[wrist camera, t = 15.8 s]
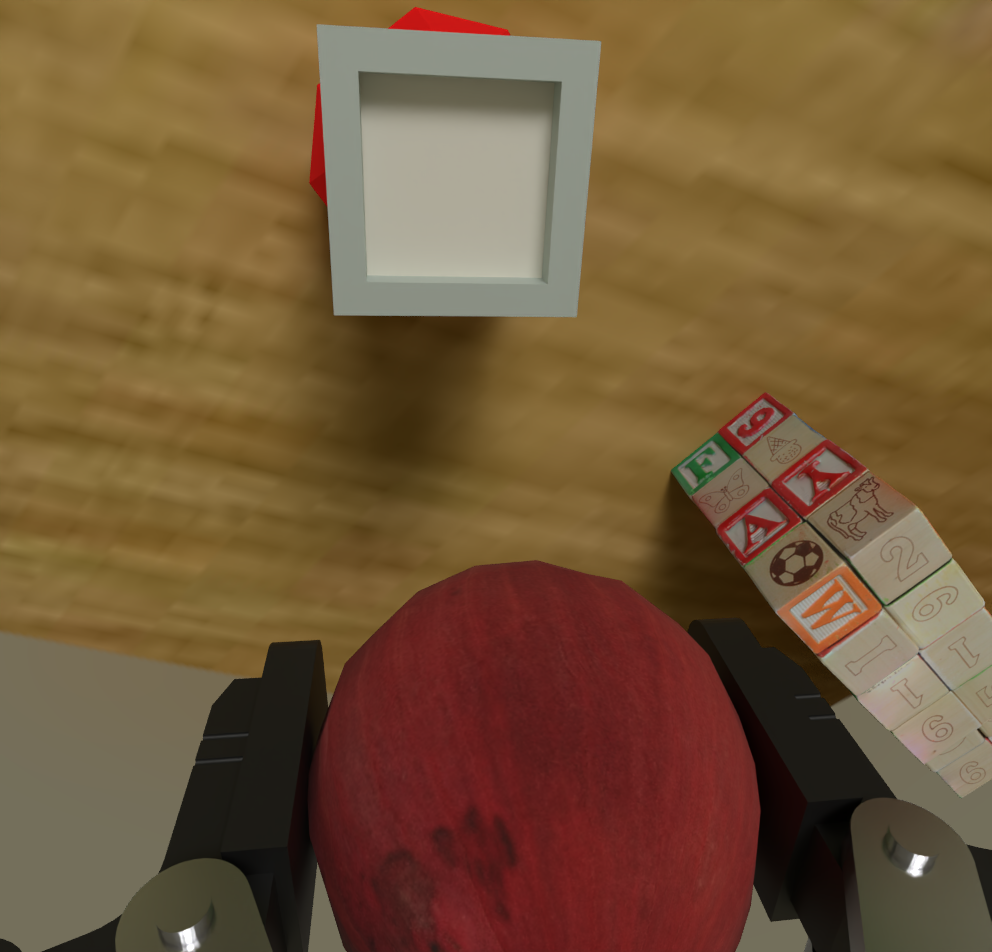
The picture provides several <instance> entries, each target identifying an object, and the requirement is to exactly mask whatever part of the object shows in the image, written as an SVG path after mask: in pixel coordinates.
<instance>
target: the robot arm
mask: <svg viewBox="0 0 992 952" xmlns="http://www.w3.org/2000/svg"><path fill="white" fill-rule="evenodd" d="M688 634H689V635H690V636H691V637H692V638H693V639H694V640H695V641H696V642H697V643H698V644H699V645H700V646H701V647H702V648H703V649H704V651H705V652H706V653H707V654H708V655H709V657H710V659H711V661H712V663H713V665H714V667H715V669H716V671H717V673H718V675H719V677H720V679H721V681H722V683H723V685H724V687H725V689H726V691H727V693H728V696H729V698H730V700H731V702H732V704H733V706H734V708H735V710H736V712H737V714H738V716H739V718H740V721H741V724H742V727H743V730H744V733H745V736H746V739H747V742H748V745H749V748H750V751H751V754H752V757H753V760H754V763H755V769H756V777H757V786H758V794H759V802H760V810H761V811H760V822H759V832H758V843H757V854H756V864H755V873H754V882H753V884H754V886H755V889H756V891H757V893H758V895H759V897H760V900H761V902H762V904H763V906H764V908H765V910H766V913H767V915H768V917H769V919H770V921H771V922H772V921H781V920H790V919H800V921H801V923H802V925H803V927H804V929H805V931H806V933H807V935H808V937H809V938H808V941H807V944H806V947H805V950H804V952H992V850H988V849H983V848H978V847H974V846H970V845H966V844H965V842H964V841H963V840H962V838H961V837H960V836H959V835H958V834H957V833H956V832H955V831H954V830H953V829H952V828H951V827H950V826H949V825H948V824H946V823H945V822H944V821H943V820H942V819H940V818H939V817H937V816H936V815H934V814H933V813H931V812H929V811H928V810H926V809H924V808H922V807H920V806H917V805H915V804H913V803H909V802H906V801H903V800H899V799H897V798H896V797H895V796H894V794H893V793H892V791H891V790H890V788H889V787H888V786H887V784H886V783H885V782H884V780H883V779H882V778H881V776H880V775H879V773H878V772H877V771H876V769H875V768H874V767H873V765H872V764H871V762H870V761H869V759H868V758H867V757H866V755H865V754H864V753H863V751H862V750H861V749H860V747H859V746H858V744H857V743H856V742H855V740H854V739H853V737H852V736H851V735H850V733H849V732H848V731H847V729H846V728H845V727H844V725H843V724H842V723H841V721H840V720H839V719H836V717H835V713H834V711H833V710H832V709H831V707H830V706H829V704H828V703H827V702H826V700H825V699H824V698H821V696H820V692H819V691H818V689H817V688H816V686H815V685H814V684H813V682H812V681H811V680H810V678H809V677H808V675H807V674H806V673H805V671H804V670H803V668H801V667H800V666H799V665H797V664H796V663H795V662H793V661H792V660H791V659H789V658H788V657H787V656H785V655H784V654H783V653H781V652H780V651H779V650H777V649H776V648H775V647H770V648H762V647H761V646H760V644H759V643H758V641H757V640H756V638H755V637H754V636H753V634H752V633H751V631H750V630H749V628H748V627H747V625H746V624H745V623H744V621H743V620H741V619H740V618H723V619H705V620H694V621H692V622H691V624H690V626H689V629H688ZM327 710H328V702H327V692H326V682H325V672H324V662H323V652H322V645H321V642H320V640H311V641H293V642H275V643H271V644H270V646H269V649H268V653H267V658H266V662H265V666H264V670H263V674H262V678H247V679H234V680H233V681H232V683H231V684H230V685H229V686H228V687H227V689H226V690H225V691H224V692H223V693H222V694H221V696H220V697H219V698H218V699H217V700H216V701H215V703H214V704H213V705H212V708H211V711H210V714H209V717H208V720H207V724H206V727H205V730H204V734H203V741H201V743H200V746H199V749H198V753H197V756H196V759H195V760H196V763H195V766H193V769H192V772H191V775H190V779H189V782H188V785H187V788H186V791H185V795H184V798H183V801H182V805H181V808H180V811H179V814H178V817H177V820H176V824H175V827H174V830H173V833H172V837H171V840H170V843H169V847H168V850H167V853H166V856H165V859H164V862H163V865H162V867H161V870H160V871H159V873H158V875H156V876H155V877H153V878H152V879H151V880H149V881H148V882H147V883H146V884H145V885H144V886H143V887H142V888H141V889H140V890H139V891H138V892H137V893H136V894H135V895H134V896H133V898H132V899H131V901H130V902H129V903H128V905H127V906H126V908H125V910H124V912H123V914H121V915H120V916H119V917H117V918H116V919H115V920H113V921H111V922H110V923H108V924H106V925H105V926H103V927H101V928H99V929H97V930H95V931H92V932H90V933H88V934H85V935H83V936H80V937H78V938H75V939H73V940H70V941H68V942H65V943H62V944H60V945H58V946H55V947H52V948H50V949H47V950H45V951H42V952H308V945H309V935H310V926H311V916H312V907H313V898H314V897H313V896H314V888H315V878H316V869H317V859H316V855H315V852H314V849H313V846H312V843H311V839H310V836H309V819H308V802H307V797H308V778H309V770H310V766H311V762H312V757H313V754H314V750H315V747H316V743H317V740H318V736H319V733H320V729H321V726H322V723H323V721H324V718H325V715H326V713H327ZM0 952H21V950H20V949H19V948H18V947H17V946H16V945H14V944H13V943H11V942H9V941H6V940H4V939H0Z"/></svg>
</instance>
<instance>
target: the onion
mask: <svg viewBox="0 0 992 952" xmlns="http://www.w3.org/2000/svg"><path fill="white" fill-rule="evenodd" d="M307 802H308V819H309V836H310V839H311V843H312V846H313V849H314V852H315V855H316V859H317V862H318V865H319V868H320V872H321V875H322V878H323V881H324V884H325V888H326V891H327V894H328V898H329V901H330V904H331V907H332V911H333V914H334V917H335V921H336V924H337V927H338V930H339V934H340V937H341V940H342V943H343V946H344V948H345V950H346V951H347V952H735V951H736V948H737V946H738V944H739V942H740V939H741V936H742V933H743V930H744V926H745V923H746V920H747V916H748V913H749V910H750V906H751V899H752V890H753V882H754V873H755V864H756V854H757V843H758V832H759V822H760V811H761V810H760V802H759V794H758V786H757V777H756V769H755V763H754V760H753V757H752V754H751V751H750V748H749V745H748V742H747V739H746V736H745V733H744V730H743V727H742V724H741V721H740V718H739V716H738V714H737V712H736V710H735V708H734V706H733V704H732V702H731V700H730V698H729V696H728V693H727V691H726V689H725V687H724V685H723V683H722V681H721V679H720V677H719V675H718V673H717V671H716V669H715V667H714V665H713V663H712V661H711V659H710V657H709V655H708V654H707V653H706V652H705V651H704V649H703V648H702V647H701V646H700V645H699V644H698V643H697V642H696V641H695V640H694V639H693V638H692V637H691V636H690V635H689V634H688V633H687V632H686V631H685V630H684V629H683V628H682V627H681V626H680V625H679V623H677V622H676V621H675V620H673V619H672V618H671V617H669V616H668V615H666V614H665V613H664V612H662V611H661V610H660V609H658V608H657V607H656V606H654V605H653V604H652V603H650V602H649V601H648V600H646V599H645V598H644V597H642V596H641V595H640V594H638V593H637V592H636V591H634V590H633V589H632V588H630V587H629V586H628V585H626V584H625V583H624V582H622V581H620V580H615V579H610V578H605V577H600V576H594V575H589V574H585V573H582V572H578V571H574V570H570V569H567V568H563V567H559V566H556V565H552V564H548V563H545V562H541V561H537V560H534V561H523V562H512V563H501V564H490V565H479V566H474V567H471V568H469V569H467V570H465V571H463V572H460V573H458V574H456V575H454V576H451V577H449V578H447V579H445V580H442V581H440V582H438V583H436V584H434V585H431V586H429V587H427V588H425V589H422V590H420V591H418V592H417V593H416V594H415V595H414V596H413V597H412V598H411V599H410V600H409V601H407V602H406V603H405V604H404V605H403V606H402V607H401V608H400V609H399V610H398V611H397V612H396V613H395V614H394V615H393V616H392V617H391V618H390V619H389V620H388V621H387V622H386V623H384V624H383V625H382V626H381V627H380V628H379V629H378V630H377V631H376V632H375V633H374V634H373V635H372V636H371V637H370V638H369V639H368V640H367V641H366V642H365V643H364V644H363V645H362V647H361V648H360V649H359V650H358V651H357V652H356V653H355V654H354V655H353V656H352V657H351V658H350V659H349V660H348V661H347V662H346V663H345V665H344V668H343V670H342V673H341V676H340V678H339V681H338V684H337V686H336V689H335V692H334V694H333V697H332V700H331V702H330V705H329V707H328V710H327V713H326V715H325V718H324V721H323V723H322V726H321V729H320V733H319V736H318V740H317V743H316V747H315V750H314V754H313V757H312V762H311V766H310V770H309V778H308V797H307Z"/></svg>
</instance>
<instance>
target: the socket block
mask: <svg viewBox="0 0 992 952" xmlns="http://www.w3.org/2000/svg"><path fill="white" fill-rule="evenodd" d="M317 37H318V54H319V71H320V88H321V105H322V122H323V139H324V155H325V172H326V189H327V206H328V223H329V240H330V256H331V273H332V290H333V307H334V315H367V316H509V317H577V307H578V296H579V284H580V273H581V262H582V251H583V240H584V229H585V217H586V206H587V195H588V184H589V173H590V161H591V150H592V139H593V128H594V117H595V105H596V94H597V83H598V72H599V61H600V49H601V41H589V40H572V39H555V38H538V37H521V36H504V35H487V34H470V33H453V32H436V31H419V30H402V29H385V28H368V27H351V26H334V25H317Z"/></svg>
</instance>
